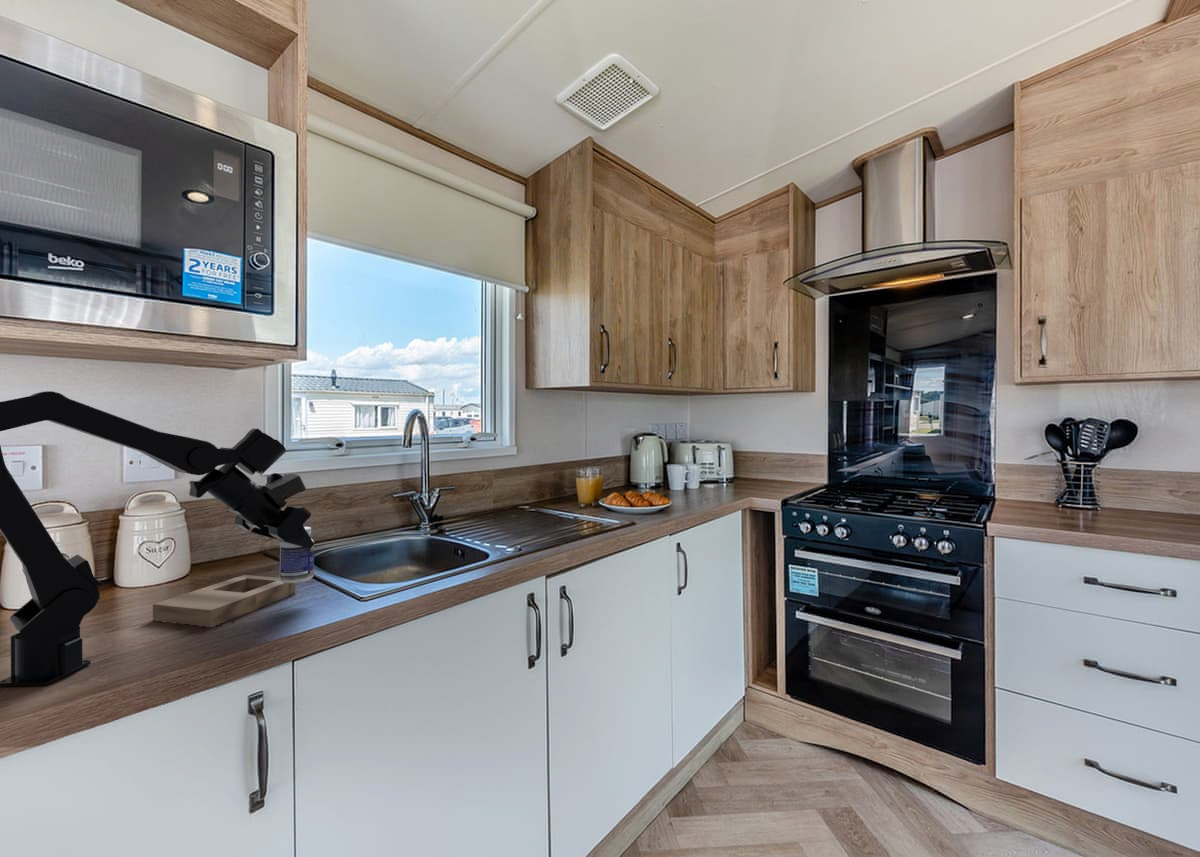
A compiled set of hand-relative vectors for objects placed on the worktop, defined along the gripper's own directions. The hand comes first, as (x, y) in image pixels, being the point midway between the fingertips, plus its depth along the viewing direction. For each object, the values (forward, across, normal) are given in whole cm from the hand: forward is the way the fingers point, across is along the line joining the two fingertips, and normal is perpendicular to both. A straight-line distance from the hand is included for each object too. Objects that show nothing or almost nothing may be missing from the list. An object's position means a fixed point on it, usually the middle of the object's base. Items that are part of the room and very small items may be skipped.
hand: (304, 544), depth 99 cm
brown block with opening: (+2, +10, +15) cm, 18 cm away
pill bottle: (+4, 0, +6) cm, 7 cm away
